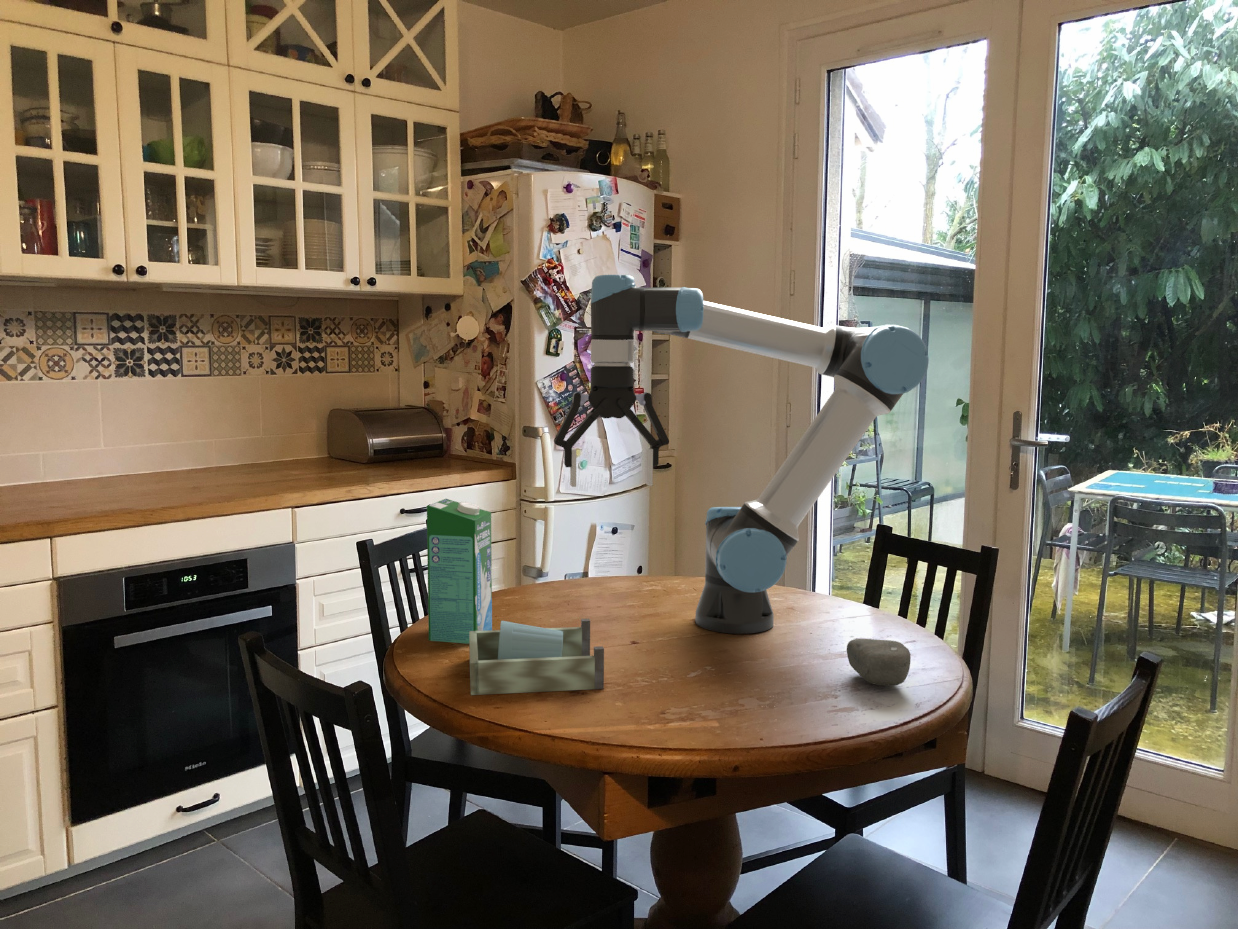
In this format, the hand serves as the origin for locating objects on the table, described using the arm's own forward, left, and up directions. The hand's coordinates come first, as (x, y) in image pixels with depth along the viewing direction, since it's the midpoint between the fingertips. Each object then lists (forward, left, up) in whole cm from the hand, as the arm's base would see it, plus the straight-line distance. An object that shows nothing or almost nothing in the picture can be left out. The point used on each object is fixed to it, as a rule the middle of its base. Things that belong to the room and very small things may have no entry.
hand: (611, 485), depth 172 cm
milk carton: (+27, -8, -29) cm, 40 cm away
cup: (+12, +15, -29) cm, 34 cm away
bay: (+15, +15, -29) cm, 36 cm away
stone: (-40, +24, -30) cm, 55 cm away
